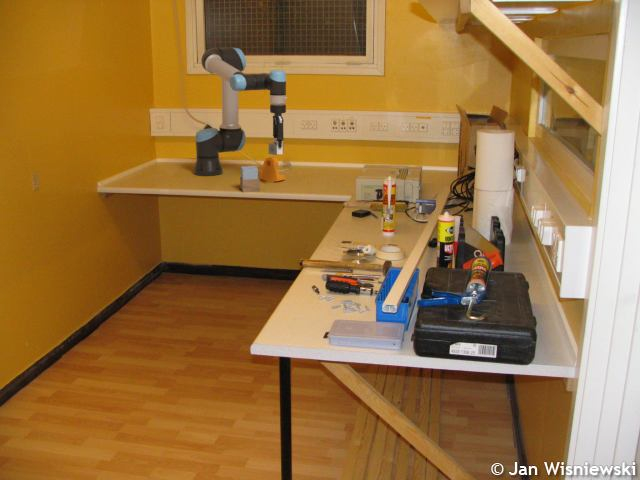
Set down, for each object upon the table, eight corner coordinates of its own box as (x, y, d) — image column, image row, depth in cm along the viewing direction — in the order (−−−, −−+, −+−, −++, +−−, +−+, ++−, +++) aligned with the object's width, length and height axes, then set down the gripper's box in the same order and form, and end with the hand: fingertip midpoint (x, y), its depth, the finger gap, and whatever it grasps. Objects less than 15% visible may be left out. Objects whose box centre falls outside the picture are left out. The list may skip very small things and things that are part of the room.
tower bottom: (240, 189, 324) (240, 176, 322) (256, 188, 326) (256, 175, 324) (242, 192, 317) (242, 179, 315) (259, 191, 319) (259, 179, 317)
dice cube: (275, 155, 320) (275, 144, 319) (268, 153, 324) (268, 143, 322) (283, 153, 324) (283, 143, 322) (276, 152, 327) (276, 142, 326)
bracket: (285, 180, 344) (285, 157, 340) (277, 182, 338) (276, 159, 334) (268, 178, 349) (268, 155, 346) (260, 180, 343) (259, 157, 340)
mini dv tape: (415, 213, 278) (415, 199, 277) (415, 212, 280) (415, 198, 278) (435, 214, 277) (435, 200, 275) (435, 214, 278) (436, 199, 276)
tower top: (241, 176, 322) (240, 166, 321) (255, 176, 324) (255, 165, 322) (243, 179, 316) (242, 169, 314) (257, 179, 317) (257, 168, 316)
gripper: (290, 106, 310) (290, 156, 316) (281, 102, 327) (281, 149, 334) (273, 106, 308) (274, 156, 315) (266, 102, 325) (266, 149, 332)
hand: (278, 152), depth 324 cm, fingers closed on dice cube, 6 cm apart
